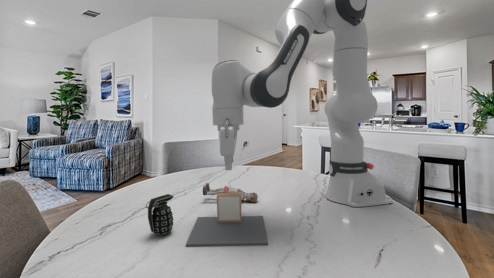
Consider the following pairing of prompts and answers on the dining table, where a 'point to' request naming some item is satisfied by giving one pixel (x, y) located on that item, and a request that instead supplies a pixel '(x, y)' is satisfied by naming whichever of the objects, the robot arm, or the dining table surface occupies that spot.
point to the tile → (229, 207)
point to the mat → (228, 232)
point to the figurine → (249, 197)
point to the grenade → (160, 215)
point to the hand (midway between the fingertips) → (229, 166)
